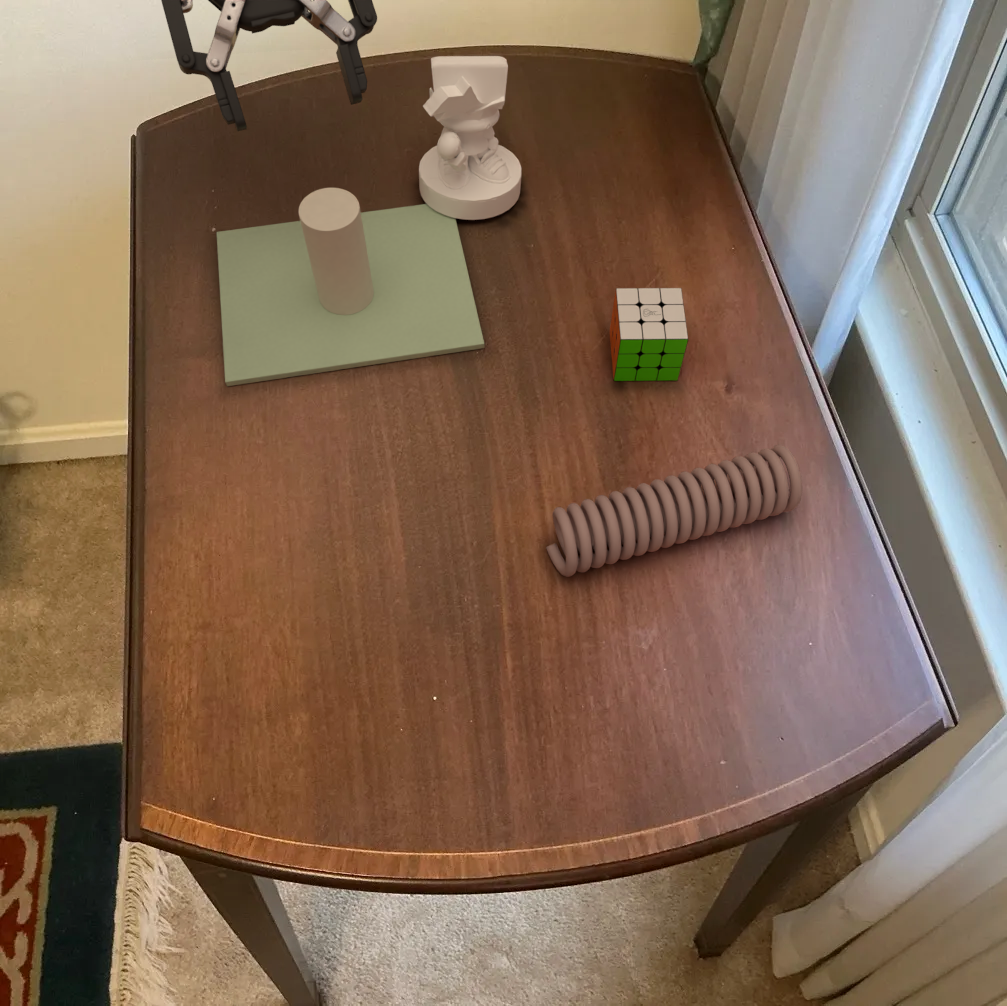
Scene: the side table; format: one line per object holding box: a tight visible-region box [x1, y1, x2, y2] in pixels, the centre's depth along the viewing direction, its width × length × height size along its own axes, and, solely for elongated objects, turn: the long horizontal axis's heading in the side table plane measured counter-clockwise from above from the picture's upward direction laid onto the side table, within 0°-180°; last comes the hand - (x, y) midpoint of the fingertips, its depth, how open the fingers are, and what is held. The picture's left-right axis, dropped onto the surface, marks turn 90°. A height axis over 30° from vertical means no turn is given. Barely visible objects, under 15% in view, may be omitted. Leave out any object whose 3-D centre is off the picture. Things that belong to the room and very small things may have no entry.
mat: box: [216, 203, 485, 387], centre depth 78 cm, size 20×16×1 cm
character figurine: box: [418, 55, 522, 221], centre depth 79 cm, size 9×10×12 cm
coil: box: [545, 444, 803, 578], centre depth 65 cm, size 5×5×18 cm
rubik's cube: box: [608, 287, 689, 382], centre depth 73 cm, size 5×5×5 cm
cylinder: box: [298, 187, 374, 315], centre depth 73 cm, size 4×4×9 cm
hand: (300, 115), depth 70 cm, fingers open, 8 cm apart
